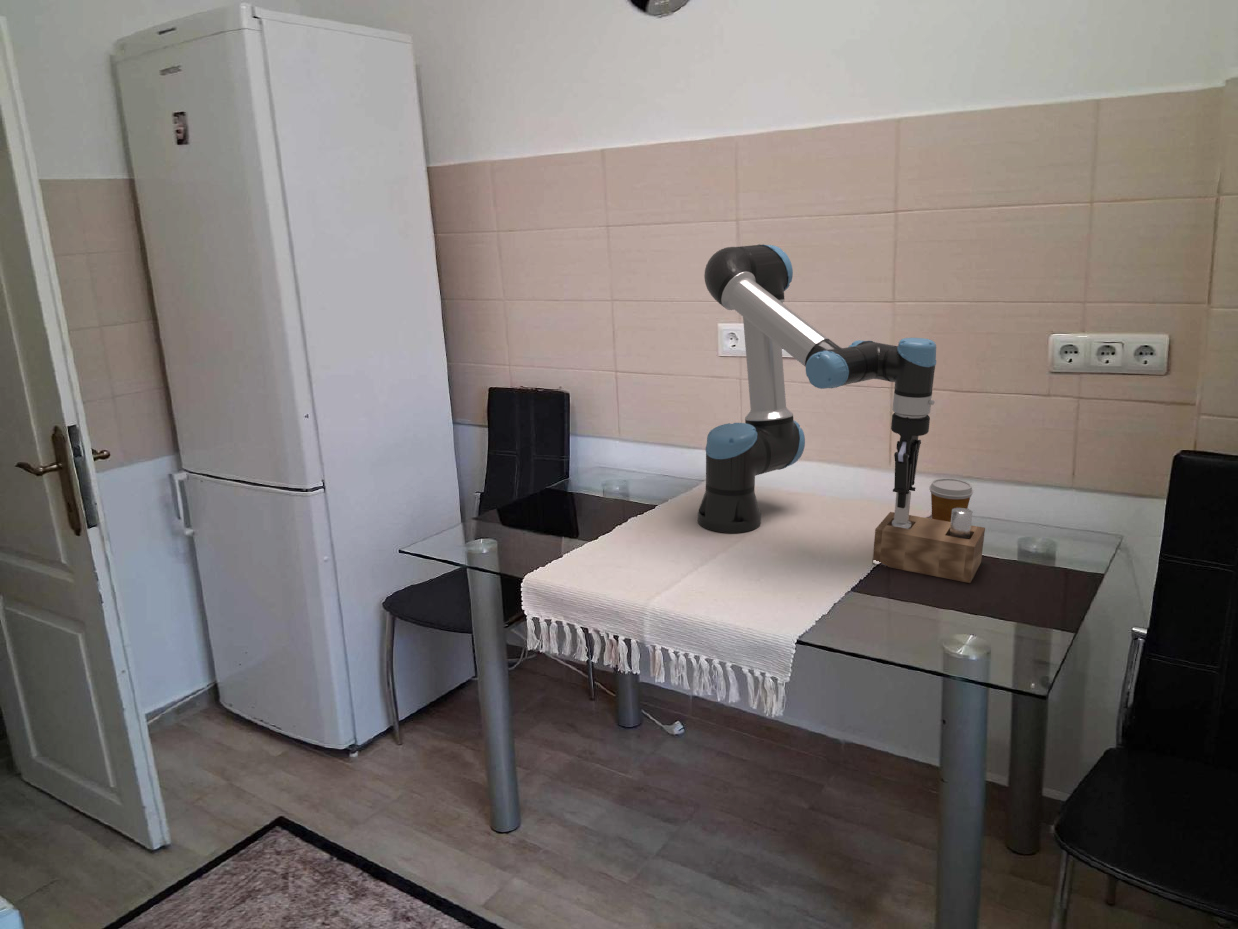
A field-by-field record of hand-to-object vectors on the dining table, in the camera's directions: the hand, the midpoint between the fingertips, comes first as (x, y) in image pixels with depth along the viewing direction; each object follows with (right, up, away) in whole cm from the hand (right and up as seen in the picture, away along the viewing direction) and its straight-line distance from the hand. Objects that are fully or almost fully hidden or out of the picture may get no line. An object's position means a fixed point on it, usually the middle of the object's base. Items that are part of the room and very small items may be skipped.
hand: (901, 520), depth 196 cm
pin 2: (+10, -5, -5) cm, 13 cm away
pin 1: (0, -8, +2) cm, 9 cm away
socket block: (+5, -9, 0) cm, 11 cm away
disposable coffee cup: (+15, -4, +16) cm, 23 cm away
